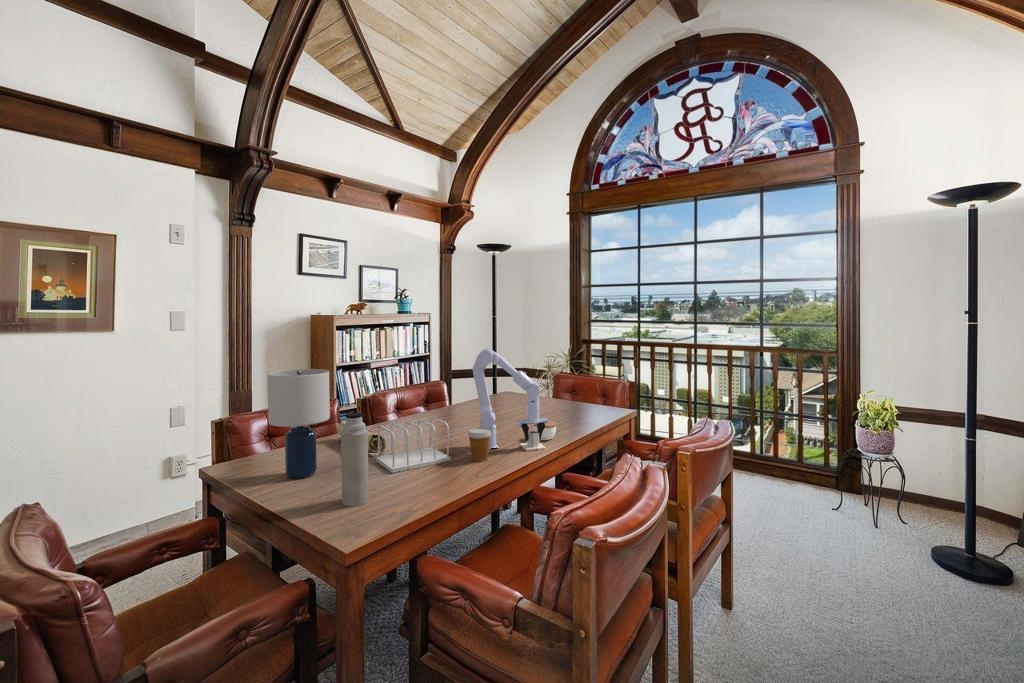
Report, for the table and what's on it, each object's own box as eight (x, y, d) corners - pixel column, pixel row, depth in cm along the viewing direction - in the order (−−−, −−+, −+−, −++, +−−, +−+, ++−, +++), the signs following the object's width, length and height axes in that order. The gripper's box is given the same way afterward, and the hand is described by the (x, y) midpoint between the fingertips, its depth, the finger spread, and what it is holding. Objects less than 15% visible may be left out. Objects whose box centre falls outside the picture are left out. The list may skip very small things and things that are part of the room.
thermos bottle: (347, 496, 146) (345, 411, 145) (371, 496, 146) (370, 410, 145) (338, 506, 138) (336, 416, 137) (364, 506, 139) (363, 416, 137)
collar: (529, 447, 197) (529, 434, 197) (525, 444, 202) (525, 431, 202) (540, 446, 198) (540, 433, 198) (536, 443, 203) (536, 430, 203)
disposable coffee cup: (464, 457, 186) (464, 429, 186) (485, 454, 191) (485, 426, 190) (473, 464, 178) (473, 434, 177) (495, 461, 182) (495, 431, 182)
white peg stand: (526, 451, 195) (526, 442, 195) (520, 445, 204) (520, 436, 204) (545, 449, 198) (545, 440, 197) (539, 444, 206) (539, 435, 206)
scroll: (358, 433, 218) (350, 415, 215) (391, 448, 193) (382, 428, 190) (338, 445, 212) (329, 427, 209) (369, 462, 187) (360, 442, 184)
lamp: (274, 469, 172) (271, 368, 170) (331, 463, 179) (329, 366, 177) (266, 488, 153) (262, 374, 151) (330, 481, 160) (328, 372, 158)
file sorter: (391, 474, 167) (391, 432, 167) (375, 462, 181) (374, 423, 180) (451, 461, 182) (451, 423, 181) (431, 451, 196) (431, 415, 195)
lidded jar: (531, 441, 211) (531, 421, 211) (536, 435, 222) (536, 416, 221) (553, 443, 208) (553, 423, 208) (558, 437, 218) (558, 418, 218)
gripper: (519, 412, 194) (519, 443, 195) (551, 410, 198) (551, 441, 199) (515, 409, 201) (515, 439, 202) (546, 407, 205) (545, 437, 205)
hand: (532, 440), depth 200 cm, fingers closed on collar, 5 cm apart
